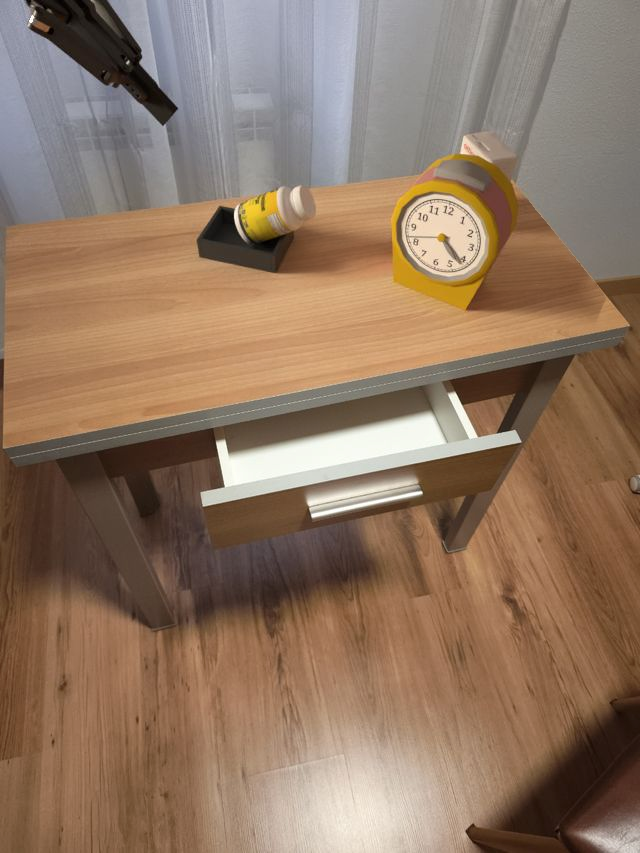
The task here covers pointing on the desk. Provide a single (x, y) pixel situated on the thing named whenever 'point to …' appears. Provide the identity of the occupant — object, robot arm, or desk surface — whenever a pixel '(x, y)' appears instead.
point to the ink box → (490, 151)
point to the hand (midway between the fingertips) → (170, 117)
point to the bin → (240, 244)
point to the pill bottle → (274, 213)
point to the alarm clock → (452, 228)
